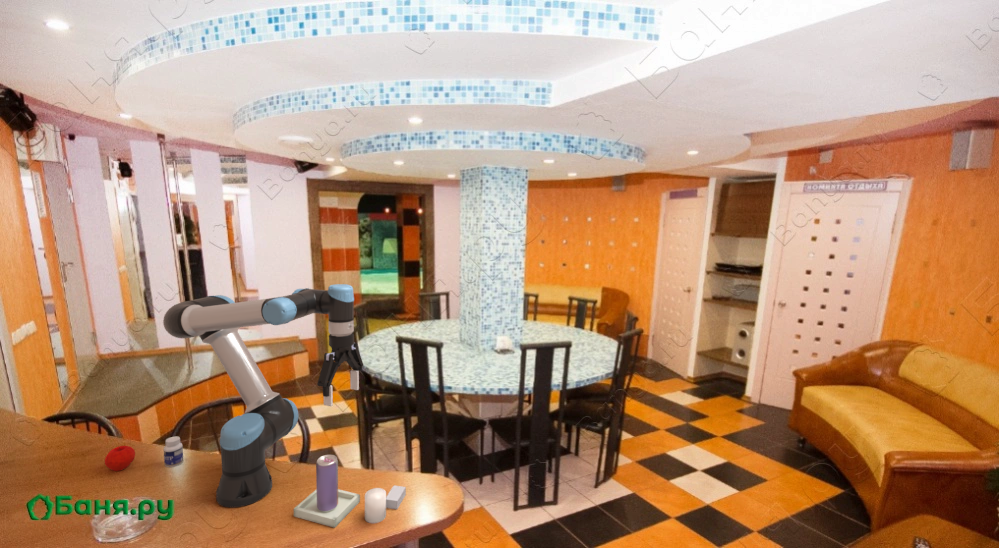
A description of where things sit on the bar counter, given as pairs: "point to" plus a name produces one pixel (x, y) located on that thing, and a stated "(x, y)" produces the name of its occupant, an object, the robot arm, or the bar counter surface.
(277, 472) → the bar counter surface
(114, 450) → the apple
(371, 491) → the white rounded capsule
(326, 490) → the beverage can
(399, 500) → the pale rectangular cuboid
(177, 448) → the pill bottle
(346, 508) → the tray
